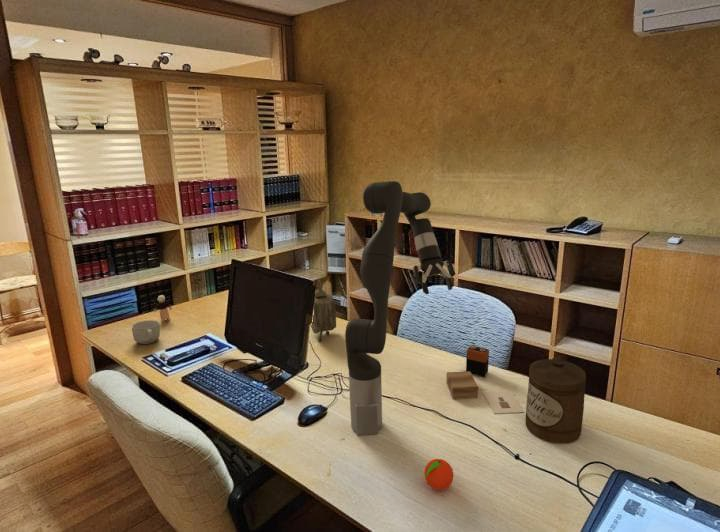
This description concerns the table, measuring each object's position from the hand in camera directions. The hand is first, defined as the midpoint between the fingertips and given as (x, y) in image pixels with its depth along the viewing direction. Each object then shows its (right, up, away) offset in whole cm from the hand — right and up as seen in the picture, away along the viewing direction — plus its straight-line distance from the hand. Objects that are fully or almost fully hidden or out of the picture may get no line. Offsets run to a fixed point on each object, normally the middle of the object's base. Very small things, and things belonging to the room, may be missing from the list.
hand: (439, 291), depth 163 cm
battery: (+14, -29, +4) cm, 32 cm away
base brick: (+6, -32, -7) cm, 33 cm away
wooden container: (+28, -38, -28) cm, 54 cm away
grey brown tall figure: (-43, -21, +38) cm, 61 cm away
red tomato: (-9, -45, -49) cm, 67 cm away
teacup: (-117, -24, +37) cm, 125 cm away
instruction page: (+17, -34, -15) cm, 41 cm away
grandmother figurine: (-120, -17, +60) cm, 135 cm away
